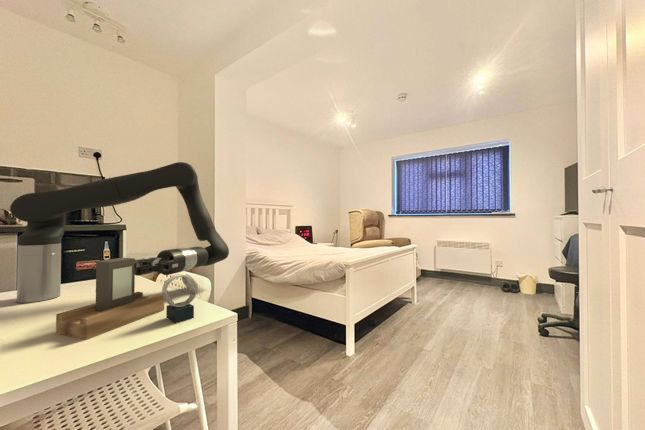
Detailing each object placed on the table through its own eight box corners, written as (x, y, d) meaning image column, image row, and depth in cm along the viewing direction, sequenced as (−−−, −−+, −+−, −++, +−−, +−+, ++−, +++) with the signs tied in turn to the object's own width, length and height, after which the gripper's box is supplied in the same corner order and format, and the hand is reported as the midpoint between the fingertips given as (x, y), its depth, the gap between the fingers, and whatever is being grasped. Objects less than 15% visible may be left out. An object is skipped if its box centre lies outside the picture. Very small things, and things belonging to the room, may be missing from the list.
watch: (201, 315, 66) (201, 273, 66) (167, 326, 59) (167, 279, 59) (191, 310, 69) (191, 270, 69) (158, 320, 63) (158, 275, 63)
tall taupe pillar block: (95, 311, 61) (96, 261, 61) (121, 303, 66) (122, 257, 67) (108, 313, 59) (109, 262, 59) (134, 305, 65) (135, 258, 65)
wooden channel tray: (55, 333, 56) (56, 314, 56) (137, 306, 73) (137, 291, 73) (86, 339, 53) (86, 319, 53) (164, 309, 70) (164, 294, 70)
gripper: (160, 247, 82) (104, 254, 67) (195, 249, 78) (144, 257, 62) (160, 270, 82) (104, 283, 67) (195, 273, 78) (143, 287, 62)
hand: (123, 270), depth 64 cm, fingers open, 8 cm apart
